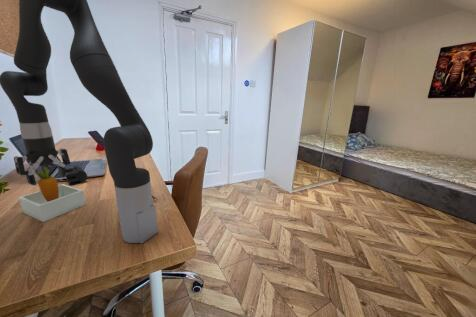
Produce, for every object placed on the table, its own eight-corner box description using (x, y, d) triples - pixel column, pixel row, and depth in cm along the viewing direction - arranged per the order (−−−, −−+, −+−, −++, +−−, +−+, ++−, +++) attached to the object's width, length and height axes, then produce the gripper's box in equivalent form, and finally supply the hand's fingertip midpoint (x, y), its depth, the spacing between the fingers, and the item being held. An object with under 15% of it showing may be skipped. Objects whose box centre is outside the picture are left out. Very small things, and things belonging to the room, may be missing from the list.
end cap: (88, 182, 102) (86, 169, 100) (70, 186, 97) (67, 172, 95) (83, 176, 109) (81, 164, 107) (66, 180, 104) (63, 167, 102)
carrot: (53, 210, 75) (42, 170, 71) (41, 209, 76) (29, 170, 71) (66, 203, 80) (56, 166, 75) (55, 202, 80) (45, 165, 76)
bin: (85, 204, 81) (82, 190, 80) (43, 222, 70) (38, 206, 68) (65, 197, 87) (62, 183, 85) (23, 212, 75) (18, 197, 73)
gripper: (14, 140, 63) (28, 190, 67) (68, 133, 75) (76, 176, 80) (3, 138, 66) (17, 185, 70) (56, 132, 78) (65, 173, 83)
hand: (48, 180), depth 75 cm, fingers open, 8 cm apart
